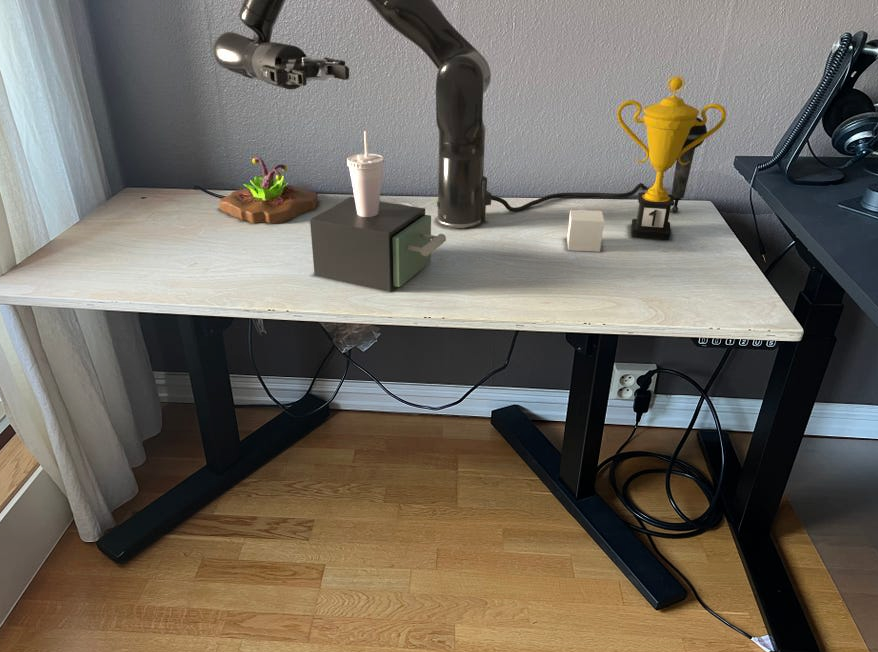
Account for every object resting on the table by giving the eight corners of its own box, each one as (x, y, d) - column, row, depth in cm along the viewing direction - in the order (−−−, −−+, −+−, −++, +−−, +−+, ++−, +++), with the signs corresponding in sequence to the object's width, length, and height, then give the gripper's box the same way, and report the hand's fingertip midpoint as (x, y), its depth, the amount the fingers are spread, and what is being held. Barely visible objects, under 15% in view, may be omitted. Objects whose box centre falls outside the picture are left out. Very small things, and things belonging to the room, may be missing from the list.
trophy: (600, 237, 143) (621, 78, 127) (602, 220, 151) (622, 69, 135) (702, 246, 138) (737, 82, 123) (698, 228, 146) (731, 72, 131)
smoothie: (391, 209, 127) (389, 128, 120) (378, 221, 122) (375, 138, 115) (357, 205, 129) (354, 126, 122) (343, 217, 124) (339, 135, 117)
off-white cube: (597, 240, 141) (601, 211, 138) (600, 251, 136) (604, 221, 133) (566, 238, 142) (570, 209, 139) (567, 250, 137) (571, 220, 134)
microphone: (694, 210, 156) (714, 115, 146) (686, 219, 151) (706, 122, 141) (662, 204, 159) (679, 111, 149) (654, 213, 154) (670, 118, 144)
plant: (269, 188, 173) (264, 141, 168) (331, 202, 163) (327, 153, 158) (206, 211, 160) (198, 161, 154) (268, 228, 150) (262, 176, 144)
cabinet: (425, 263, 133) (425, 208, 127) (390, 291, 123) (388, 233, 117) (353, 249, 139) (350, 196, 134) (314, 275, 129) (309, 219, 123)
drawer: (451, 265, 130) (452, 218, 125) (421, 292, 120) (421, 242, 116) (362, 248, 137) (361, 204, 133) (327, 272, 128) (324, 225, 123)
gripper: (242, 47, 128) (287, 56, 116) (311, 39, 135) (359, 48, 124) (247, 91, 131) (291, 104, 120) (314, 81, 139) (361, 93, 128)
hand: (326, 76), depth 122 cm, fingers open, 8 cm apart
